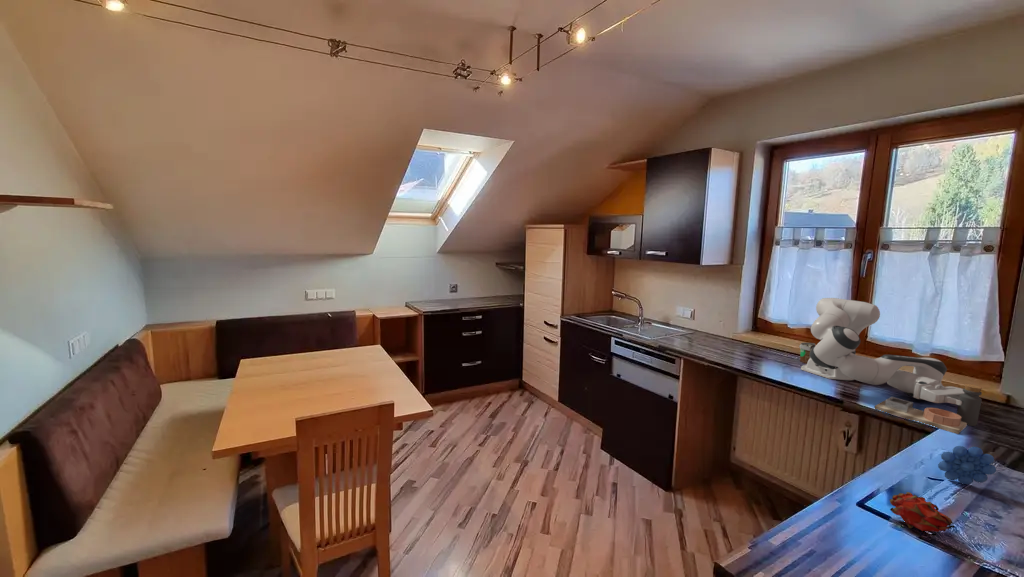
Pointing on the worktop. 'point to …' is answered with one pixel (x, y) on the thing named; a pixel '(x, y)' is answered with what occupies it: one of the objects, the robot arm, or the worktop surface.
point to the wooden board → (920, 418)
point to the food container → (805, 351)
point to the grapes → (967, 465)
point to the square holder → (899, 404)
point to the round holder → (942, 416)
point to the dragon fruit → (919, 513)
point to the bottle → (970, 404)
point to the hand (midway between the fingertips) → (971, 402)
